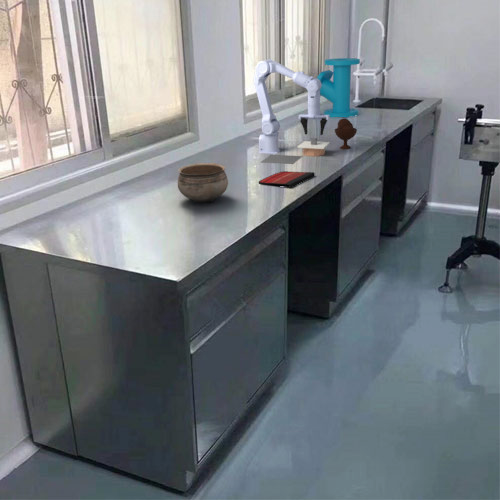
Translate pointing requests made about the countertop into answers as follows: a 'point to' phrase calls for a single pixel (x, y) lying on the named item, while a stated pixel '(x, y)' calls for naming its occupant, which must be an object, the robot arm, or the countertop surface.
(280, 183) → the binder
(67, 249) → the countertop surface
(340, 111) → the pipe fitting
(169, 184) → the countertop surface
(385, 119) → the countertop surface
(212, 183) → the cooking pot
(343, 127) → the ice cream bowl
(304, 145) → the cover sheet
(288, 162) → the mat
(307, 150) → the dish
